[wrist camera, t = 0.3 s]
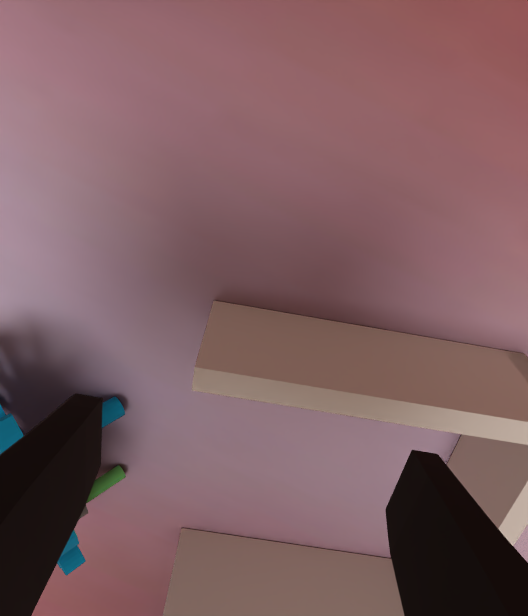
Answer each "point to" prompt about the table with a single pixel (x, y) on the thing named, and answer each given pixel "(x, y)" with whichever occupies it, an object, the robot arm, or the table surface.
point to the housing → (357, 403)
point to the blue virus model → (5, 432)
